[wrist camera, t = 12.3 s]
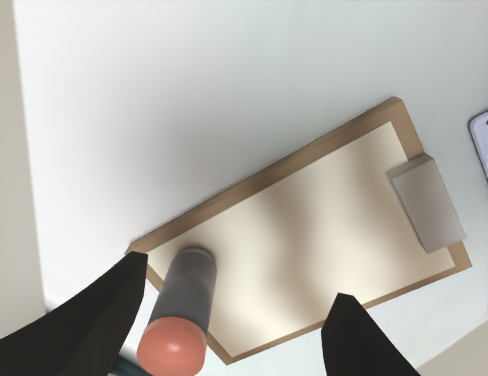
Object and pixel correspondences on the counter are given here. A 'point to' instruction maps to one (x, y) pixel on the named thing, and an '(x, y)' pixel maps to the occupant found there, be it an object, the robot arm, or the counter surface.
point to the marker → (180, 317)
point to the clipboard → (319, 233)
